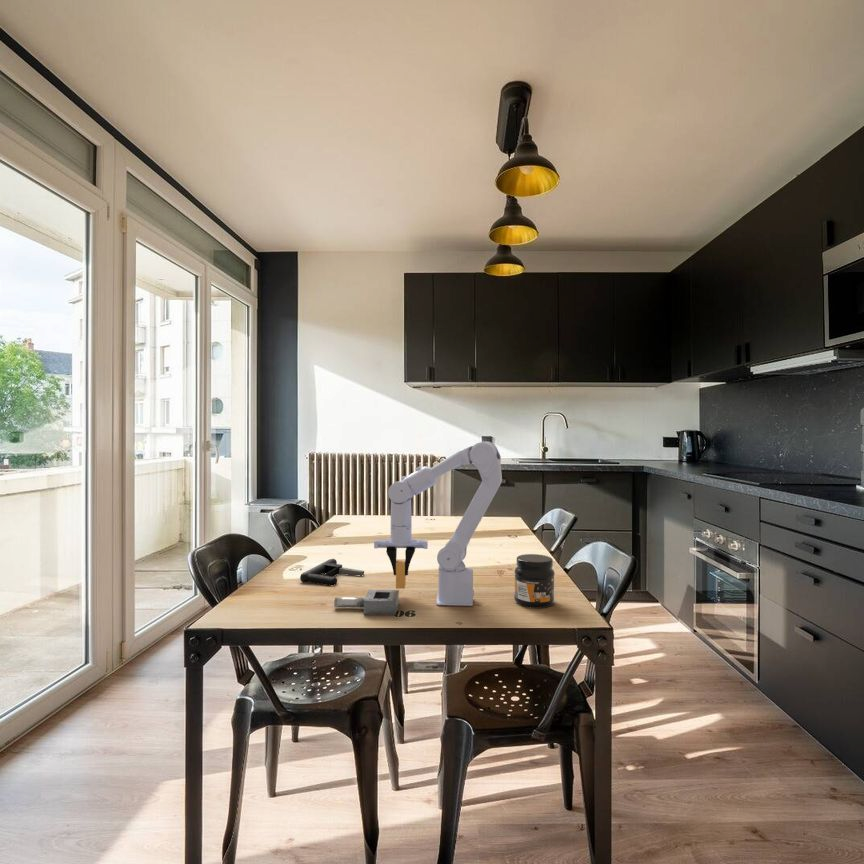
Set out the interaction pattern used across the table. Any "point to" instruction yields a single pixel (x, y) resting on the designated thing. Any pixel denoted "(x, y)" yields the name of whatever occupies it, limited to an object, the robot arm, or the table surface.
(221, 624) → the table surface
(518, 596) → the supplement container
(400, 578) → the tall orange cuboid
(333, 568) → the door handle
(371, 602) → the grey peg hole fixture
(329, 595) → the table surface
